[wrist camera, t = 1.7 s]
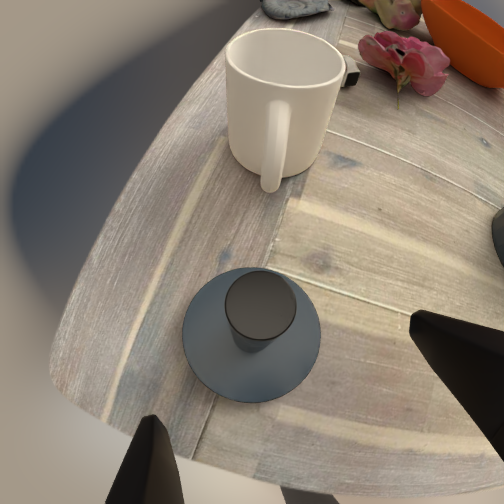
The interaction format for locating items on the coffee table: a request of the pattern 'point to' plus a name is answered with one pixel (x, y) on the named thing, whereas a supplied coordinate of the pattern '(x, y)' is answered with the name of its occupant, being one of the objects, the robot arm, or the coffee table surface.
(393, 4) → the sculpture
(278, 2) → the fossil
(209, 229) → the coffee table surface
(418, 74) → the flower
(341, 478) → the coffee table surface
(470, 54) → the bowl
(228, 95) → the mug
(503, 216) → the tin
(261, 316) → the lid
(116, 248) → the coffee table surface
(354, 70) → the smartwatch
